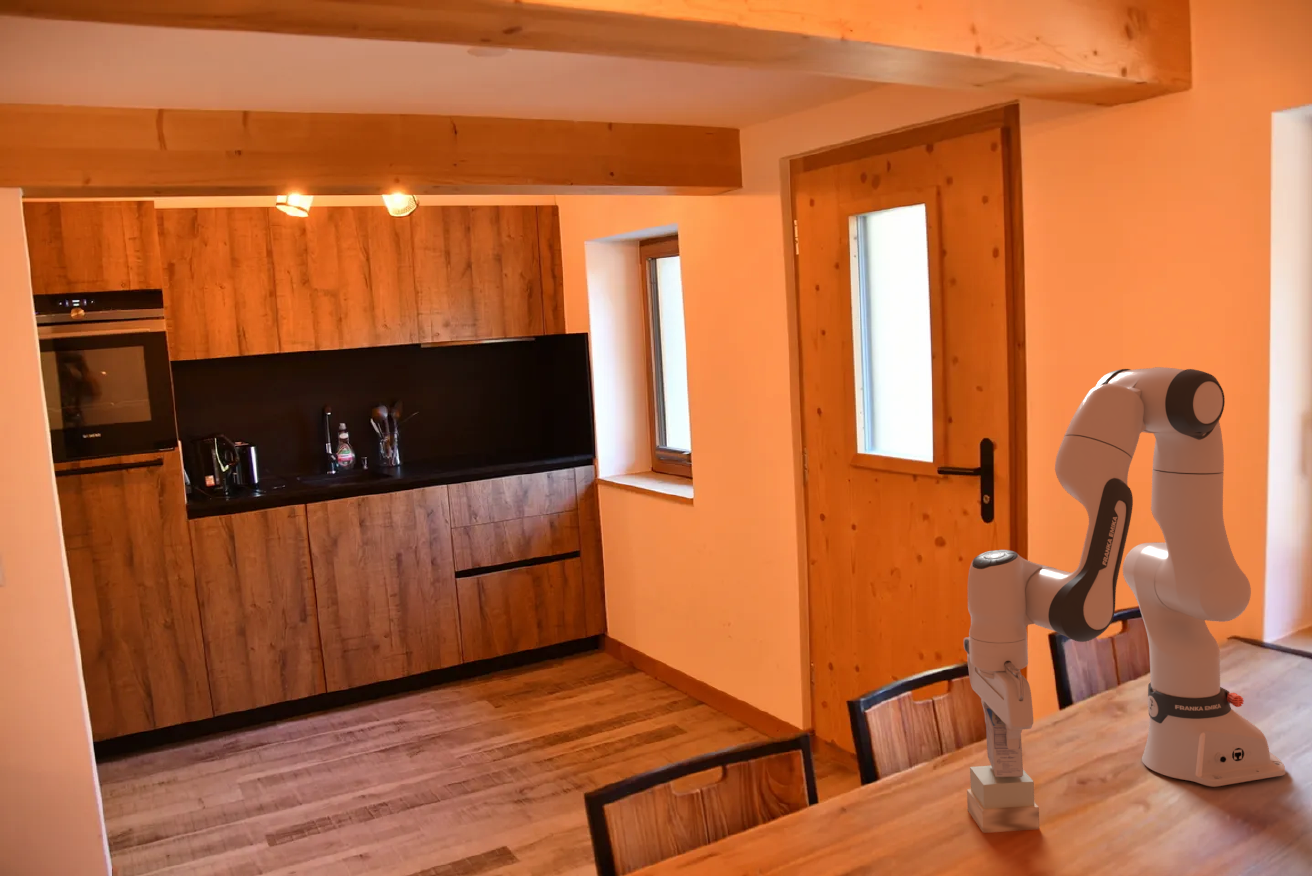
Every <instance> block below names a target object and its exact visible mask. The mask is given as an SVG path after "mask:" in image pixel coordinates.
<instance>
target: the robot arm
mask: <svg viewBox="0 0 1312 876" xmlns="http://www.w3.org/2000/svg"><path fill="white" fill-rule="evenodd" d="M1224 408H1225V392H1224V390H1223V388H1222V386H1221V384H1220V382H1219V381H1218V379H1217V378H1216V376H1214V375H1212V374H1211V373H1209V372H1206V371H1202V370H1198V369H1195V368H1194V369H1193V368H1188V369H1187V368H1186V369H1182V368H1181V369H1180V368H1175V367H1174V368H1173V367H1162V366H1161V367H1160V366H1157V367H1156V366H1155V367H1151V368H1150V367H1149V368H1136V369H1130V368H1122V369H1116V370H1112V371H1110V372H1108V373H1106V374H1104V375H1103V376H1102V377H1100V379H1099V380H1098V381H1097V383H1096V384H1095V386H1094V387H1091V389H1089V390H1088V392H1087V393H1086V394H1085V396H1084V397H1083V399H1082V400H1081V402H1080V404H1079V406H1078V407H1077V408H1076V410H1075V412H1074V414H1073V416H1072V417H1071V420H1070V422H1069V425H1068V426H1067V429H1066V431H1065V433H1064V436H1063V437H1062V438H1063V439H1062V440H1061V443H1060V446H1059V447H1058V448H1059V449H1058V450H1057V454H1056V458H1055V463H1054V472H1055V475H1056V478H1057V480H1058V482H1059V483H1060V485H1061V487H1062V488H1063V489H1064V490H1065V491H1066V493H1067V494H1069V495H1070V496H1071V497H1073V498H1074V499H1075V500H1076V501H1078V502H1079V503H1080V504H1081V505H1083V508H1084V509H1085V510H1086V513H1087V516H1088V526H1087V530H1086V533H1085V539H1084V542H1083V548H1082V552H1081V556H1080V560H1079V563H1078V566H1077V568H1076V569H1075V570H1074V571H1072V572H1070V571H1065V570H1061V569H1057V567H1052V566H1047V565H1045V564H1040V563H1036V562H1033V561H1030V560H1028V559H1025V558H1024V557H1022V556H1020V555H1019V554H1018V553H1017V552H1016V551H1013V550H1009V549H999V550H998V549H996V550H989V551H985V552H982V553H980V554H979V555H977V556H976V557H974V558H973V559H972V561H971V563H970V566H969V569H968V577H967V609H968V613H969V615H970V627H969V629H968V631H969V632H968V635H969V636H968V637H964V638H963V650H964V651H965V652H966V655H967V667H968V675H969V676H968V678H969V683H970V685H971V688H972V690H973V691H974V693H976V695H978V697H979V698H980V699H981V700H980V702H981V705H982V708H983V713H984V722H985V724H986V709H987V708H991V709H992V710H993V711H994V713H995V714H996V715H997V716H998V717H999V718H1000V719H1001V720H1002V721H1003V722H1004V723H1005V724H1006V729H1007V734H1006V736H1005V745H1006V746H1007V748H1008V749H1010V750H1015V749H1018V748H1019V738H1020V735H1021V736H1022V731H1023V730H1030V729H1032V728H1033V725H1034V710H1033V709H1034V708H1033V699H1032V692H1031V686H1030V684H1029V681H1028V679H1027V678H1025V676H1024V675H1022V672H1021V670H1022V669H1024V668H1026V667H1027V666H1028V664H1029V659H1028V658H1029V656H1028V655H1029V653H1028V652H1029V650H1028V632H1027V627H1028V626H1030V625H1035V626H1037V627H1041V628H1044V629H1047V630H1050V631H1053V632H1056V633H1057V634H1060V635H1062V636H1064V637H1066V638H1068V639H1070V640H1073V641H1076V642H1079V643H1084V642H1089V641H1092V640H1094V639H1096V638H1098V637H1099V636H1101V635H1102V634H1103V633H1104V632H1105V631H1106V630H1107V629H1109V627H1110V625H1111V624H1112V622H1113V619H1114V617H1115V611H1116V595H1117V594H1116V592H1117V584H1118V579H1119V573H1120V570H1121V565H1122V575H1123V578H1124V581H1125V582H1126V584H1127V586H1128V587H1129V588H1130V590H1131V591H1132V593H1133V595H1134V597H1135V600H1136V601H1137V605H1138V608H1139V611H1140V614H1141V619H1142V620H1143V624H1144V627H1145V633H1146V634H1147V636H1146V637H1147V640H1148V641H1147V642H1148V647H1149V669H1150V672H1149V674H1150V676H1149V677H1150V682H1149V683H1148V685H1147V708H1148V709H1147V710H1148V711H1147V712H1148V716H1149V725H1148V730H1147V731H1148V732H1147V739H1146V743H1145V747H1144V751H1143V754H1142V757H1141V761H1142V763H1143V765H1145V766H1146V767H1147V768H1148V769H1150V770H1152V771H1153V772H1155V773H1158V774H1160V775H1164V776H1165V777H1169V778H1174V779H1177V780H1185V781H1191V782H1195V783H1197V784H1201V785H1203V786H1207V787H1214V788H1215V787H1221V786H1222V787H1223V786H1227V785H1234V784H1239V783H1245V782H1251V781H1252V782H1253V781H1256V780H1258V781H1259V780H1263V779H1269V778H1275V777H1280V776H1284V775H1286V768H1285V765H1284V763H1283V761H1282V760H1281V759H1279V758H1278V757H1277V756H1276V755H1275V754H1273V753H1272V752H1270V748H1269V747H1270V746H1269V744H1268V740H1267V739H1266V735H1265V734H1264V732H1263V731H1262V730H1261V729H1259V728H1258V727H1257V726H1256V725H1255V724H1253V723H1252V722H1250V721H1249V719H1247V718H1245V717H1243V715H1241V714H1239V713H1238V711H1235V710H1234V709H1233V708H1232V707H1231V705H1233V706H1234V707H1236V708H1240V707H1242V706H1243V704H1244V702H1245V699H1244V698H1243V697H1242V696H1241V695H1240V694H1238V693H1236V692H1230V691H1229V690H1227V689H1226V688H1224V687H1221V650H1220V646H1219V643H1218V642H1217V639H1216V638H1215V637H1214V636H1213V634H1212V633H1211V631H1210V629H1209V627H1208V625H1207V623H1206V621H1209V622H1219V623H1220V622H1222V623H1223V622H1230V621H1233V620H1236V618H1238V617H1239V616H1241V615H1242V614H1243V612H1245V611H1246V609H1247V607H1248V605H1249V603H1250V601H1251V594H1252V588H1251V584H1250V581H1249V578H1248V576H1247V575H1246V574H1245V573H1244V571H1243V570H1242V569H1241V568H1240V565H1238V563H1237V561H1236V559H1235V557H1234V554H1233V552H1232V547H1231V545H1230V543H1229V538H1228V535H1227V531H1226V527H1225V521H1224V520H1225V519H1224V508H1223V507H1224V474H1225V473H1224V470H1225V464H1224V463H1225V462H1224V461H1225V460H1224V459H1225V458H1224V457H1225V455H1224V454H1225V453H1224V442H1223V435H1222V429H1221V425H1220V424H1221V423H1220V419H1221V417H1222V415H1223V412H1224V410H1225V409H1224ZM1142 433H1146V434H1147V433H1148V434H1153V436H1154V438H1155V442H1154V448H1153V457H1152V470H1151V472H1152V476H1151V502H1150V503H1151V504H1150V505H1151V506H1150V510H1151V514H1152V516H1153V518H1154V520H1155V521H1156V523H1157V524H1158V526H1159V527H1160V530H1161V532H1162V535H1163V539H1164V541H1165V542H1157V541H1156V542H1155V541H1154V542H1144V543H1139V544H1138V545H1135V546H1134V547H1132V548H1131V550H1129V551H1128V553H1126V556H1125V558H1124V561H1123V563H1122V560H1123V556H1124V551H1125V547H1126V543H1127V539H1128V538H1127V537H1128V533H1129V529H1130V525H1131V521H1132V518H1131V517H1132V513H1133V504H1134V503H1133V502H1134V499H1133V497H1134V496H1133V492H1132V490H1131V488H1130V487H1129V485H1128V479H1129V478H1128V477H1129V471H1130V466H1131V463H1132V461H1133V458H1134V455H1135V452H1136V449H1137V446H1138V443H1139V439H1140V436H1141V434H1142Z"/></svg>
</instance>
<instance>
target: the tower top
mask: <svg viewBox="0 0 1312 876" xmlns="http://www.w3.org/2000/svg"><path fill="white" fill-rule="evenodd" d="M969 779H970V781H969V782H970V789H971V791H972V792H973V794H974V795H975V797H976V798H977V799H978V801H979V802H980V804H981V805H982V806H983V808H984V809H992V808H1007V807H1022V806H1034V802H1035V786H1034V785H1035V782H1034V780H1033V779H1032V778H1031V777H1030V775H1028V773H1027V772H1026V771H1025V770H1024V769H1023V776H1022V777H996V776H995V774H994V771H993V768H992V766H991V765H978V766H970V767H969Z"/></svg>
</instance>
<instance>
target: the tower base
mask: <svg viewBox="0 0 1312 876" xmlns="http://www.w3.org/2000/svg"><path fill="white" fill-rule="evenodd" d="M966 799H967V805H966V806H967V811H968V813H969V815H970V816H971V817H972V819H973V821H974V823H976V825H977V826H978V827H979V829H980V831H981V832H982V834H987V833H1000V832H1001V833H1003V832H1013V831H1016V832H1017V831H1030V830H1040V807H1039V805H1038V804H1037V803H1036V801H1034V806H1022V807H1007V808H992V809H984V808H983V806H982V805H981V804H980V802H979V801H978V799H977V798H976V797H975V795H974V794H973V792H972V791H971V788H967V789H966Z"/></svg>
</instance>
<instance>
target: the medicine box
mask: <svg viewBox="0 0 1312 876" xmlns="http://www.w3.org/2000/svg"><path fill="white" fill-rule="evenodd" d="M985 727H986V728H985V730H986V731H985V732H986V750H987V751H986V752H987V758H988V760H989V761H988V762H989V763H990V766H992V768H993V771H994V774H995V776H996V777H1022V776H1023V770H1024V767H1023V766H1024V765H1023V764H1024V763H1023V762H1024V761H1023V749H1022V748H1023V747H1022V734H1021V735H1020V738H1019V748H1018V749H1015V750H1010V749H1008V748H1007V746H1006V745H1005V736H1006V734H1007V729H1006V724H1005V723H1004V722H1003V721H1002V720H1001V719H1000V718H999V717H998V716H997V715H996V714H995V713H994V711H993V710H992V709H991V708H987V709H986V723H985Z"/></svg>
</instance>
